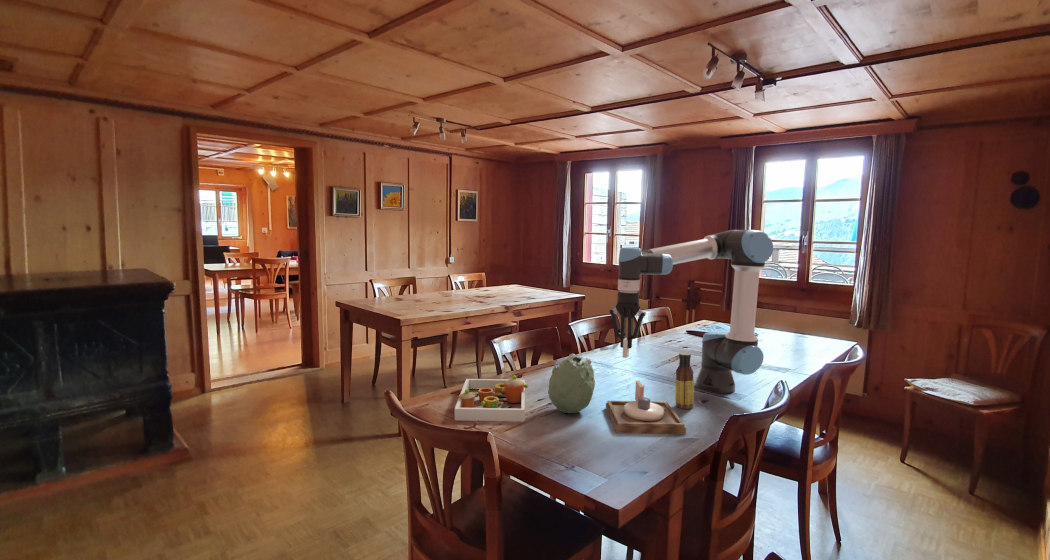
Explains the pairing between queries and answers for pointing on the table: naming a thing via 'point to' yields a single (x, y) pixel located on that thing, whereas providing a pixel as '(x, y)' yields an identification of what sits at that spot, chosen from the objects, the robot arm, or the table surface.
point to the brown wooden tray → (630, 425)
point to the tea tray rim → (488, 413)
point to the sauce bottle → (684, 382)
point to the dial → (643, 407)
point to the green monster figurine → (572, 384)
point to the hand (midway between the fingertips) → (625, 356)
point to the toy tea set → (509, 389)
